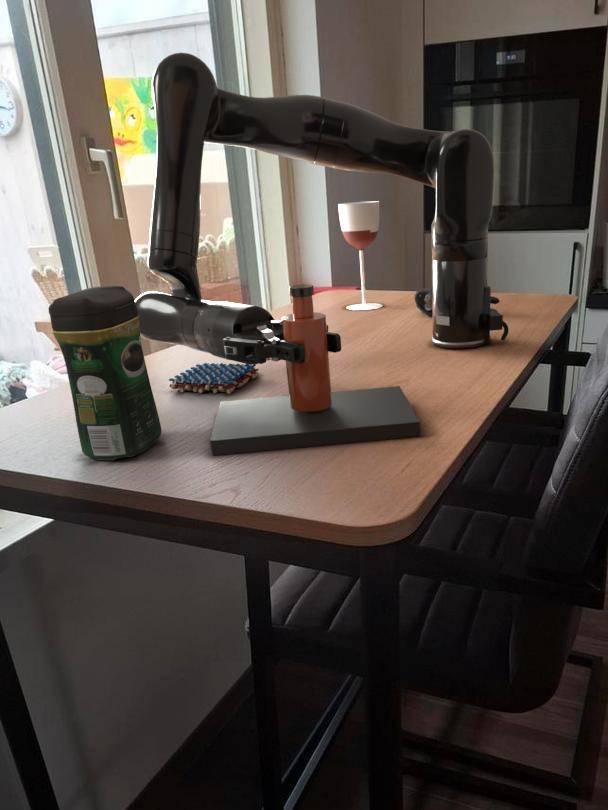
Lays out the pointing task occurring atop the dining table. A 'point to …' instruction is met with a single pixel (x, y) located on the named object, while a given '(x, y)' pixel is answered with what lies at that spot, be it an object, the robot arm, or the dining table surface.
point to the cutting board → (313, 421)
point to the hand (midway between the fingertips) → (320, 348)
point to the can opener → (425, 301)
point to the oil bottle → (307, 353)
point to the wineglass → (360, 236)
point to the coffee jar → (106, 371)
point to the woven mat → (214, 377)
